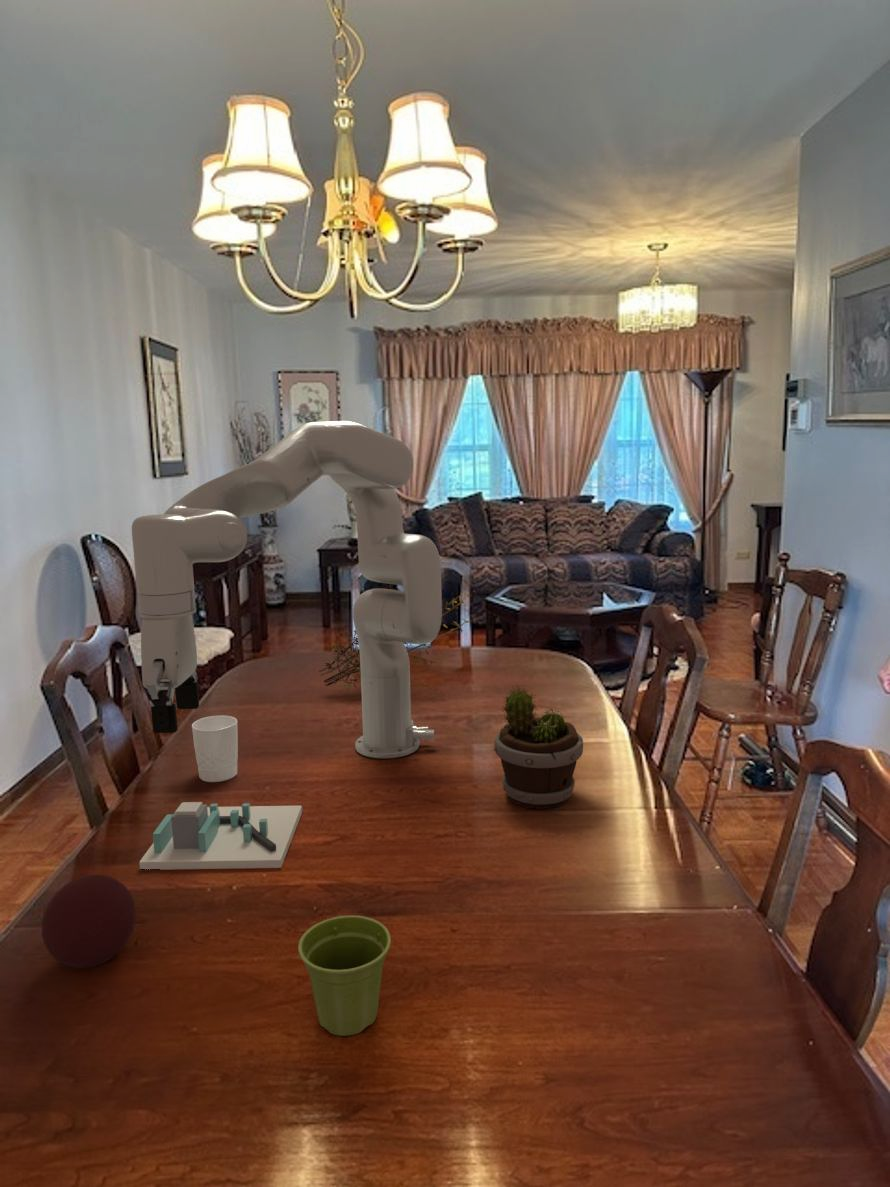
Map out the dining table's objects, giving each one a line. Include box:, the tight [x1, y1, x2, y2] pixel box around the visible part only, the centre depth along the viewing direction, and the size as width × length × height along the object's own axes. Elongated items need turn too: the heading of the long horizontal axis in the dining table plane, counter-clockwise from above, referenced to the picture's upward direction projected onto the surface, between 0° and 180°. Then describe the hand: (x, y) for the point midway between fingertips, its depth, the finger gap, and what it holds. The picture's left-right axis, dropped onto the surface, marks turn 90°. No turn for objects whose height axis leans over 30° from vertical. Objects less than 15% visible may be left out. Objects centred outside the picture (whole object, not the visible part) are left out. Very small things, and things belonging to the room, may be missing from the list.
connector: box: [171, 801, 208, 849], centre depth 116 cm, size 4×4×6 cm
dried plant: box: [318, 580, 477, 696], centre depth 188 cm, size 30×31×45 cm
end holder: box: [152, 813, 218, 853], centre depth 116 cm, size 8×6×3 cm
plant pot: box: [297, 915, 392, 1037], centre depth 82 cm, size 9×9×9 cm
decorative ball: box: [41, 874, 137, 969], centre depth 91 cm, size 10×10×10 cm
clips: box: [209, 802, 268, 842], centre depth 120 cm, size 10×8×2 cm
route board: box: [138, 805, 303, 871], centre depth 120 cm, size 20×17×1 cm
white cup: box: [191, 714, 239, 783], centre depth 142 cm, size 8×8×10 cm
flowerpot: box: [493, 681, 584, 810], centre depth 131 cm, size 14×15×20 cm
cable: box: [220, 816, 276, 852], centre depth 119 cm, size 16×6×1 cm, turn 63°
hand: (177, 719), depth 113 cm, fingers open, 9 cm apart
